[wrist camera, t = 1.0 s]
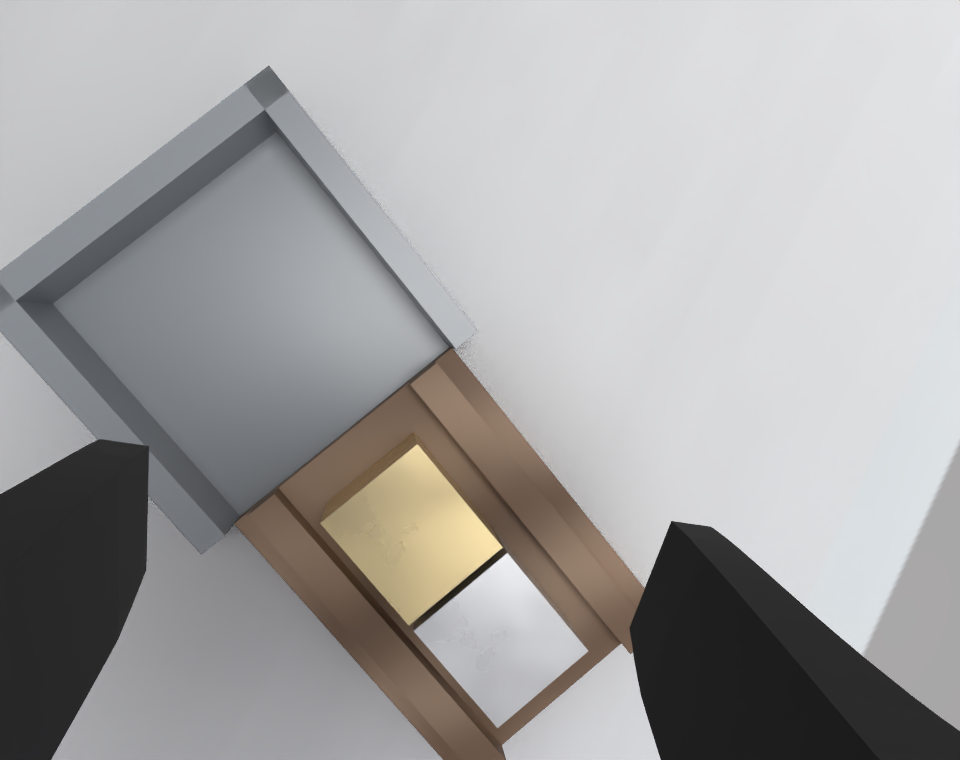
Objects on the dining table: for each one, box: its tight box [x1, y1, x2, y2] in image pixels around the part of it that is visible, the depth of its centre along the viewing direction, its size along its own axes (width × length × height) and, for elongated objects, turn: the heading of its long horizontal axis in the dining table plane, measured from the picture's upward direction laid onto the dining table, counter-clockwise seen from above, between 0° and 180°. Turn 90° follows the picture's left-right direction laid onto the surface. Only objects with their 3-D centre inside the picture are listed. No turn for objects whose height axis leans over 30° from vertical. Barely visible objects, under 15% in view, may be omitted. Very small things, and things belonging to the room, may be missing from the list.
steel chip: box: [413, 529, 588, 728], centre depth 26 cm, size 4×4×3 cm
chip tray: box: [0, 66, 478, 554], centre depth 26 cm, size 11×12×3 cm
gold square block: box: [320, 432, 503, 625], centre depth 25 cm, size 4×4×3 cm
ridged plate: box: [234, 347, 645, 760], centre depth 27 cm, size 13×10×2 cm
